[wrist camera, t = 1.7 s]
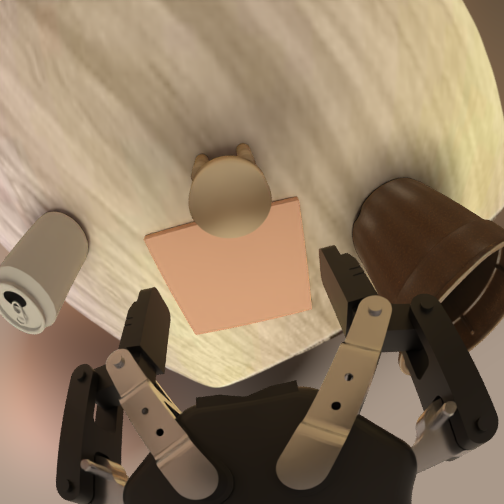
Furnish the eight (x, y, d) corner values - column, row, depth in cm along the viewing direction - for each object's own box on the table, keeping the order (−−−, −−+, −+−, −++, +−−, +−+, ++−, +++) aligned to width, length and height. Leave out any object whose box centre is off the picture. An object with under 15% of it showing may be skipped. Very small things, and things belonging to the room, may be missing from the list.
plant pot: (422, 131, 24) (539, 199, 11) (453, 227, 32) (523, 303, 19) (309, 216, 29) (375, 341, 16) (367, 292, 37) (416, 389, 24)
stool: (186, 152, 23) (177, 176, 18) (252, 135, 23) (262, 154, 18) (205, 209, 27) (202, 246, 22) (265, 194, 27) (277, 227, 22)
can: (85, 208, 25) (31, 284, 15) (95, 265, 29) (61, 346, 19) (33, 207, 24) (-26, 274, 14) (46, 260, 28) (5, 332, 18)
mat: (145, 235, 28) (143, 239, 27) (296, 196, 27) (298, 200, 27) (195, 330, 37) (195, 334, 36) (310, 304, 37) (311, 309, 36)
